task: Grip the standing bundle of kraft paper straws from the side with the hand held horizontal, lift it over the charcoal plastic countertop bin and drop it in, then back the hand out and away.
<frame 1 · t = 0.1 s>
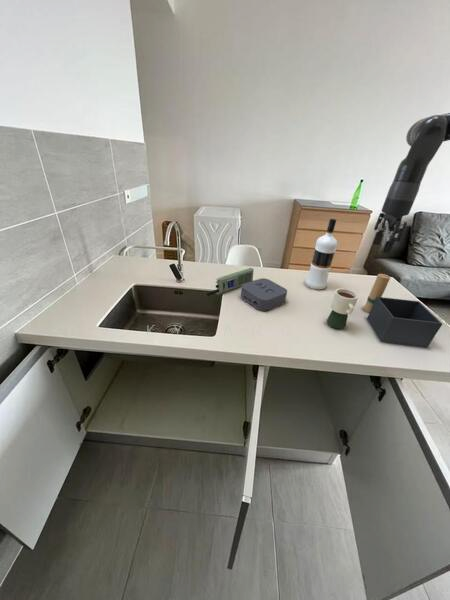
hand: (380, 248, 83), 25 cm above the worktop, tool pointing down, fingers open, 8 cm apart
character mug: (335, 325, 86), on the worktop
streaming box: (262, 299, 99), on the worktop
handheld radio: (230, 289, 105), on the worktop
vodka: (315, 285, 112), on the worktop
straw bundle: (369, 310, 96), on the worktop
bin: (394, 332, 84), on the worktop
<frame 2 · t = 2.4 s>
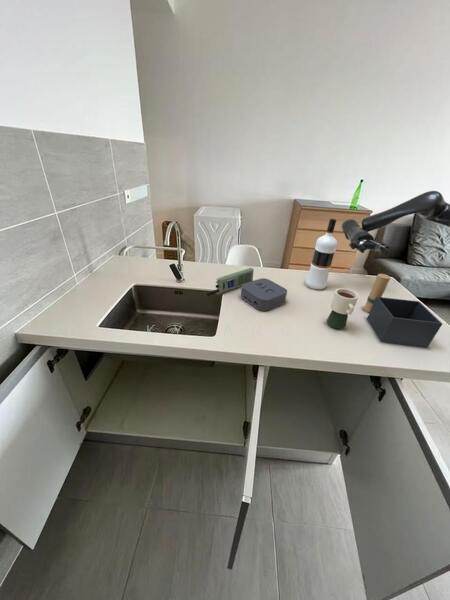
hand: (374, 251, 97), 20 cm above the worktop, tool horizontal, fingers open, 8 cm apart
nothing on the worktop moved.
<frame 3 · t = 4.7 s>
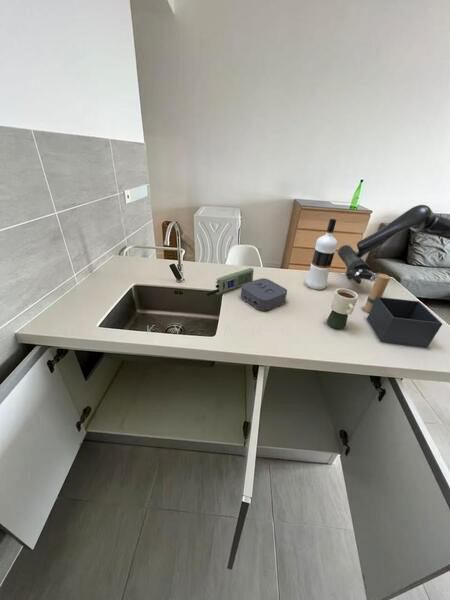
hand: (370, 283, 97), 8 cm above the worktop, tool horizontal, fingers open, 8 cm apart
nothing on the worktop moved.
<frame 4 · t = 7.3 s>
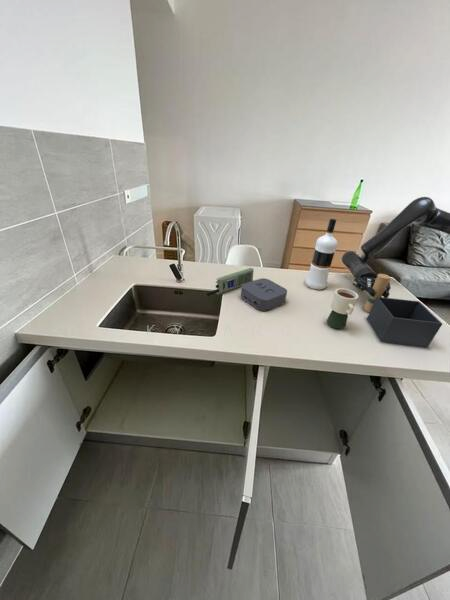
hand: (380, 295, 89), 8 cm above the worktop, tool horizontal, fingers closed on straw bundle, 4 cm apart
straw bundle: (369, 310, 96), on the worktop, touching gripper
everything else where it was.
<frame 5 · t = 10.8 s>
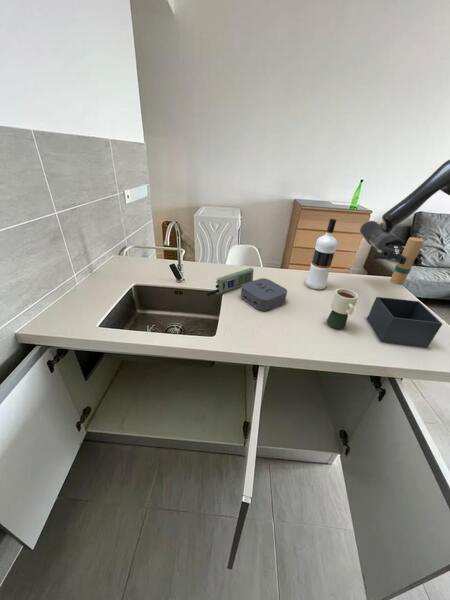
hand: (411, 262, 76), 24 cm above the worktop, tool horizontal, fingers closed on straw bundle, 4 cm apart
straw bundle: (396, 282, 83), point 15 cm above the worktop, touching gripper
everything else where it was.
when the fingers open (16 cm above the worktop, at t = 14.8 s): straw bundle drops 7 cm, resting on bin.
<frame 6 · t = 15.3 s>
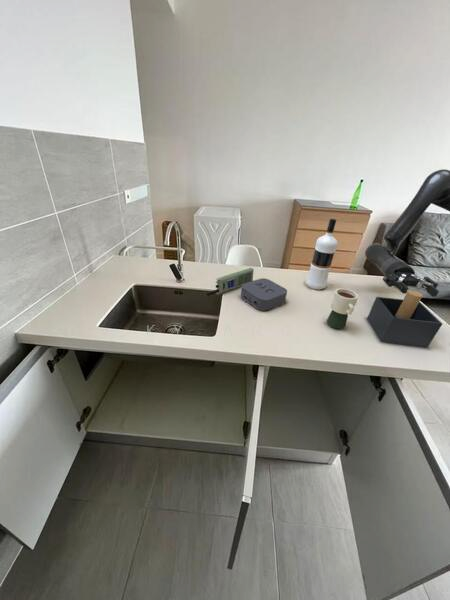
hand: (421, 292, 74), 17 cm above the worktop, tool horizontal, fingers open, 8 cm apart
straw bundle: (395, 330, 84), point 1 cm above the worktop, touching bin
everything else where it was.
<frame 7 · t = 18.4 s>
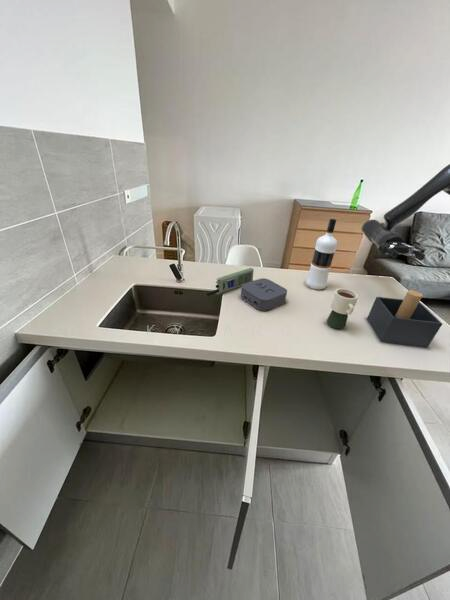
hand: (409, 256, 83), 23 cm above the worktop, tool horizontal, fingers open, 8 cm apart
nothing on the worktop moved.
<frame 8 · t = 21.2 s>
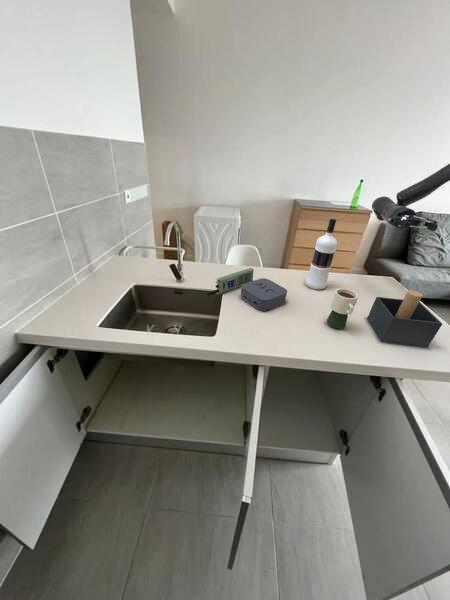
hand: (422, 227, 83), 32 cm above the worktop, tool horizontal, fingers open, 8 cm apart
nothing on the worktop moved.
at the end: straw bundle inside the target area in the bin (0.1 cm from its centre), point 0.6 cm above the bin's base; the gripper is holding nothing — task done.
